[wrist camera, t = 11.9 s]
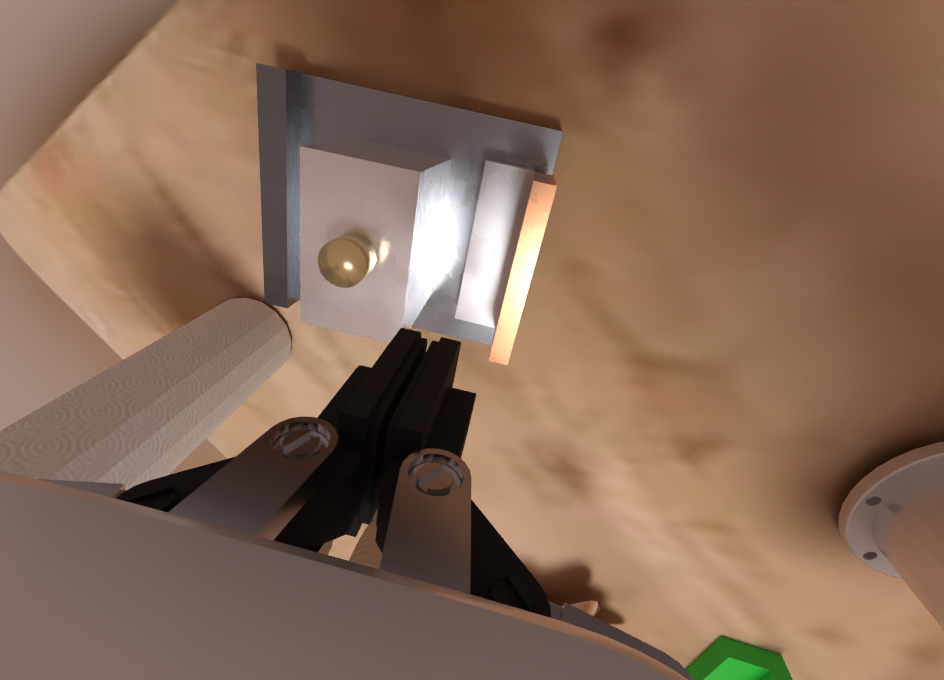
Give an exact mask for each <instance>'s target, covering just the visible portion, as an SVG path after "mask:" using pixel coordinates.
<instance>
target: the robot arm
mask: <svg viewBox="0 0 944 680" xmlns="http://www.w3.org/2000/svg"><path fill="white" fill-rule="evenodd" d="M460 346H461V342H459V341H455V340H451V339H447V338H443V337H441V339H440V341H439V342H437V341H432V342H431V344H430V346H429V348H428V350H427V352H426V348H427V339H425V338H421V332H418V331H413V330H409V329H405V328H400V329H399V331H398V332H397V334H396V335H395V336H394V338H393V339H392V341H391V342H390V343H389V345H388V346H387V347H386V349H385V350H384V352H383V353H382V354H381V356H380V357H379V359H378V360H377V361H376V363H375V364H374V365H373V367H372V368H370V367H366V366H362V365H361V366H358V367H357V368H356V369H355V371H354V372H353V373H352V374H351V376H350V377H349V378H348V380H347V381H346V382H345V383H344V385H343V386H342V387H341V389H340V390H339V391H338V392H337V394H336V395H335V396H334V397H333V399H332V400H331V401H330V403H329V404H328V405H327V406H326V408H325V409H324V410H323V411H322V413H321V414H320V415H319V417H318V418H315V417H296V418H290V419H287V420H284V421H282V422H279V423H278V424H276V425H275V426H273V427H271V428H270V429H269V430H268V431H266V432H265V433H264V434H263V435H262V436H260V437H259V438H258V439H257V440H256V441H254V442H253V443H252V444H251V445H249V446H248V447H247V448H246V449H245V450H243V451H242V452H241V453H240V454H239V455H237V456H236V457H233V458H229V459H226V460H222V461H219V462H215V463H211V464H208V465H204V466H200V467H197V468H193V469H189V470H185V471H182V472H178V473H175V474H171V475H167V476H164V477H160V478H156V479H153V480H149V481H146V482H144V483H141V484H138V485H135V486H133V487H132V488H130V489H128V490H126V489H125V486H124V484H117V483H100V482H82V481H65V480H48V479H34V478H30V477H25V476H20V475H15V474H10V473H5V472H0V680H693V679H692V677H691V676H690V675H689V673H688V672H687V671H686V670H685V669H684V668H683V667H682V665H681V664H680V663H679V662H677V661H676V660H675V659H673V658H672V657H670V656H669V655H667V654H666V653H665V652H663V651H661V650H659V649H657V648H655V647H653V646H651V645H649V644H647V643H645V642H643V641H641V640H639V639H637V638H635V637H633V636H631V635H629V634H627V633H625V632H623V631H621V630H619V629H617V628H615V627H614V626H612V625H610V624H608V623H606V622H604V621H602V620H600V619H598V618H596V617H594V616H592V615H590V614H588V613H586V612H584V611H582V610H580V609H578V608H576V607H574V606H572V605H570V604H568V603H566V602H565V604H564V606H563V607H561V606H559V605H557V604H555V603H553V602H551V601H549V600H548V598H547V595H546V594H545V592H544V591H543V589H542V587H541V586H540V584H539V583H538V582H537V580H536V579H535V578H534V577H533V575H532V574H531V573H530V572H529V570H528V569H527V568H526V567H525V565H524V564H523V563H522V562H521V560H520V559H519V558H518V557H517V556H516V554H515V553H514V552H513V551H512V549H511V548H510V547H509V546H508V544H507V543H506V542H505V541H504V539H503V538H502V537H501V536H500V534H499V533H498V532H497V531H496V529H495V528H494V527H493V526H492V524H491V523H490V522H489V521H488V519H487V518H486V517H485V516H484V515H483V513H482V512H481V511H480V510H479V508H478V507H477V506H476V505H475V503H474V502H473V501H472V500H471V474H470V470H469V468H468V467H467V465H466V463H465V462H464V461H463V460H462V459H461V456H462V452H463V448H464V444H465V440H466V436H467V432H468V428H469V423H470V419H471V415H472V411H473V406H474V402H475V397H476V393H472V392H468V391H464V390H460V389H456V388H452V387H453V382H454V377H455V372H456V366H457V361H458V356H459V351H460ZM377 508H378V510H377ZM376 510H377V518H376V527H377V531H376V539H375V542H376V544H377V545H378V547H379V549H380V551H381V553H382V558H381V563H380V568H379V569H376V568H373V567H369V566H365V565H362V564H358V563H354V562H351V561H347V560H343V559H340V558H336V557H332V556H328V553H329V551H330V549H331V547H332V542H333V540H334V539H336V538H338V537H341V536H343V535H345V534H346V535H350V536H354V537H356V536H357V533H358V531H359V529H360V527H361V525H362V523H365V524H370V523H371V521H372V519H373V517H374V515H375V512H376ZM839 530H840V534H841V537H842V539H843V540H844V542H845V543H846V545H847V546H848V548H849V549H850V550H851V552H852V553H853V554H854V555H855V557H856V558H857V559H858V560H859V561H860V562H862V563H863V564H865V565H866V566H868V567H870V568H871V569H873V570H876V571H878V572H880V573H883V574H885V575H889V576H893V577H897V578H901V579H903V580H904V581H905V582H906V584H907V585H908V586H909V587H910V589H911V590H912V591H913V592H914V594H915V595H916V596H917V597H918V599H919V600H920V601H921V602H922V604H923V605H924V606H925V607H926V609H927V610H928V611H929V612H930V614H931V615H932V616H933V617H934V619H935V620H936V621H937V622H938V624H939V625H940V626H941V627H942V629H943V630H944V442H939V443H934V444H931V445H927V446H924V447H920V448H917V449H914V450H911V451H909V452H906V453H904V454H902V455H899V456H897V457H894V458H893V459H891V460H889V461H887V462H886V463H884V464H882V465H880V466H878V467H877V468H875V469H874V470H873V471H871V472H870V473H869V474H868V475H866V476H865V477H864V478H862V479H861V480H860V481H859V482H858V483H857V485H856V486H855V487H854V488H853V489H852V490H851V491H850V493H849V494H848V496H847V497H846V499H845V501H844V502H843V504H842V507H841V510H840V513H839Z"/></svg>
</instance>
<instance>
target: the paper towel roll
mask: <svg viewBox="0 0 944 680" xmlns="http://www.w3.org/2000/svg"><path fill="white" fill-rule="evenodd" d="M290 351H291V337H290V334H289V331H288V328H287V325H286V324H285V323H284V321H283V320H282V319H281V318H280V316H279V315H278V314H277V312H275V311H274V310H272V309H271V308H270V307H268V306H267V305H265V304H264V303H263V302H260V301H256V300H253V299H250V298H233V299H229V300H227V301H225V302H223V303H222V304H220V305H218V306H216V307H215V308H213V309H211V310H209V311H208V312H206V313H204V314H203V315H201V316H199V317H197V318H196V319H194V320H192V321H190V322H189V323H187V324H185V325H183V326H182V327H180V328H178V329H176V330H175V331H173V332H171V333H170V334H168V335H166V336H164V337H163V338H161V339H159V340H157V341H156V342H154V343H152V344H150V345H149V346H147V347H145V348H143V349H142V350H140V351H138V352H136V353H135V354H133V355H131V356H130V357H128V358H126V359H124V360H123V361H121V362H119V363H117V364H116V365H114V366H112V367H110V368H109V369H107V370H105V371H104V372H102V373H100V374H98V375H97V376H95V377H93V378H91V379H90V380H88V381H86V382H84V383H83V384H81V385H79V386H78V387H76V388H74V389H72V390H70V391H69V392H67V393H65V394H64V395H62V396H60V397H58V398H57V399H55V400H53V401H51V402H50V403H48V404H46V405H44V406H43V407H41V408H39V409H38V410H36V411H34V412H32V413H30V414H29V415H27V416H25V417H23V418H22V419H20V420H18V421H17V422H15V423H13V424H11V425H10V426H8V427H6V428H4V429H3V430H1V431H0V472H5V473H10V474H15V475H20V476H25V477H30V478H34V479H48V480H65V481H82V482H100V483H117V484H124V486H125V489H126V490H128V489H130V488H132V487H133V486H135V485H138V484H141V483H144V482H146V481H149V480H153V479H156V478H160V477H164V476H167V475H168V474H169V473H170V472H171V471H173V470H174V468H175V467H177V466H178V465H179V464H180V463H181V462H182V461H183V460H184V459H185V458H186V457H187V456H188V455H189V454H190V453H191V452H192V451H193V450H194V449H195V448H197V447H198V446H199V445H200V444H201V443H202V442H203V441H204V440H205V439H206V438H207V437H208V436H209V435H210V434H211V433H212V432H213V431H214V430H215V429H216V428H217V427H219V426H220V425H221V424H222V423H223V422H224V421H225V420H226V419H227V418H228V417H229V416H230V415H231V414H232V413H233V412H234V411H235V410H236V409H237V408H238V407H239V406H241V405H242V404H243V403H244V402H245V401H246V400H247V399H248V398H249V397H250V396H251V395H252V394H253V393H254V392H255V391H256V390H257V389H258V388H259V387H260V386H261V385H262V384H264V383H265V382H266V381H267V380H268V379H269V378H270V377H271V376H272V375H273V374H274V373H275V372H276V371H277V370H278V369H279V368H280V367H281V366H282V365H283V364H284V363H285V361H286V360H287V358H288V357H289V355H290Z"/></svg>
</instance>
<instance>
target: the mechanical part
mask: <svg viewBox="0 0 944 680" xmlns="http://www.w3.org/2000/svg"><path fill="white" fill-rule="evenodd" d="M686 671H687V672H688V673H689V675H690V676H691V677H692V679H693V680H793V679H792V677H791V675H790V673H789V671H788V669H787V666H786V664H785V662H784V660H783V658H782V655H779V654H776V653H773V652H770V651H766V650H763V649H760V648H757V647H754V646H751V645H748V644H745V643H741V642H738V641H735V640H732V639H729V638H726V637H723V636H721V637H720V638H719V639H718V640H717V641H716V642H715V643H713V644H712V645H711V646H710V647H709V648H708V649H707V650H706V651H705V652H704V653H703V654H702V655H701V656H700V657H698V658H697V659H696V660H695V661H694V662H693V663H692V664H691V665H690V666H689V667H688V668H687V669H686Z"/></svg>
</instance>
